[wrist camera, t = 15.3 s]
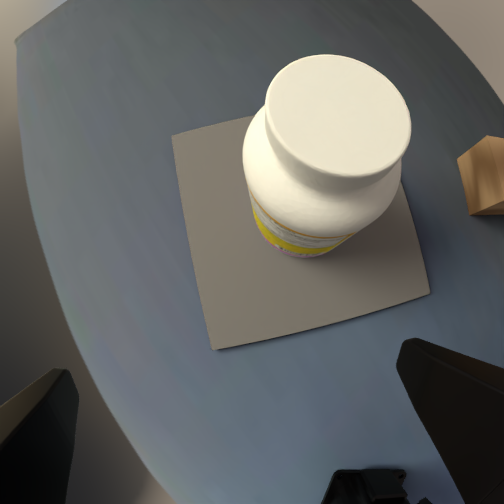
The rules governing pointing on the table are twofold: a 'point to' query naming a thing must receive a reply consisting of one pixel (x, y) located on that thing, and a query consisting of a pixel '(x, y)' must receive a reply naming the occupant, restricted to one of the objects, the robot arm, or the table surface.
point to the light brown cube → (484, 176)
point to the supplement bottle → (324, 153)
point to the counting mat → (276, 262)
